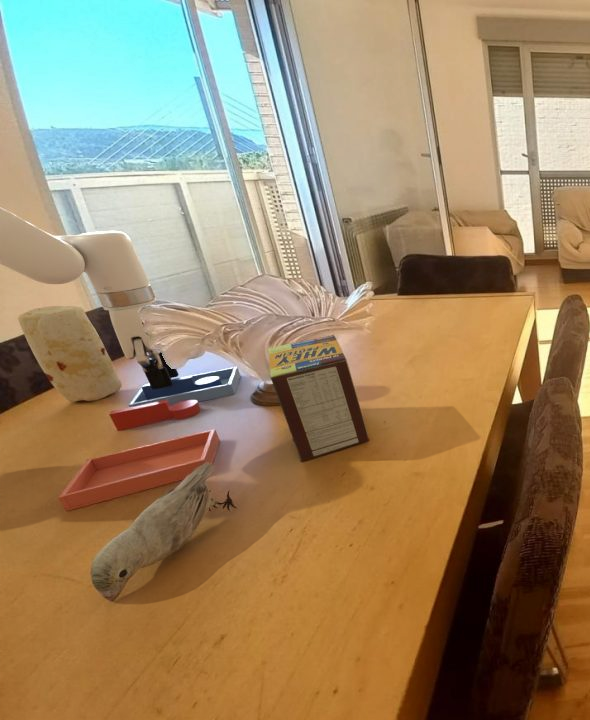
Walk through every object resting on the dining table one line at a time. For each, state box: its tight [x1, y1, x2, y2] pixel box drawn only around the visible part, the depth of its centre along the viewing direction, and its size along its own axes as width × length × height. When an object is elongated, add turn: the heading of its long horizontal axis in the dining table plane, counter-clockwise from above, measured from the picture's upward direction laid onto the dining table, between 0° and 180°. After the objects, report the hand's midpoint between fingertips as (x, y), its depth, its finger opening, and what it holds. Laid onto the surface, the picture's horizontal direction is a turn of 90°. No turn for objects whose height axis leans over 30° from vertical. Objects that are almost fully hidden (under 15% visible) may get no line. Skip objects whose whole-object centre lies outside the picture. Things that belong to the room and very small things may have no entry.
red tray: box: [57, 428, 221, 512], centre depth 75 cm, size 16×11×2 cm
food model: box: [17, 305, 123, 402], centre depth 98 cm, size 10×7×20 cm
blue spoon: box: [140, 374, 222, 400], centre depth 100 cm, size 12×4×4 cm, turn 122°
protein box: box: [267, 334, 370, 462], centre depth 82 cm, size 10×15×16 cm
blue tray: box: [128, 366, 242, 408], centre depth 101 cm, size 16×11×2 cm
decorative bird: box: [90, 462, 237, 602], centre depth 58 cm, size 5×16×7 cm, turn 178°
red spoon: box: [109, 400, 202, 431], centre depth 91 cm, size 12×4×4 cm, turn 122°
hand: (165, 381), depth 99 cm, fingers open, 4 cm apart
